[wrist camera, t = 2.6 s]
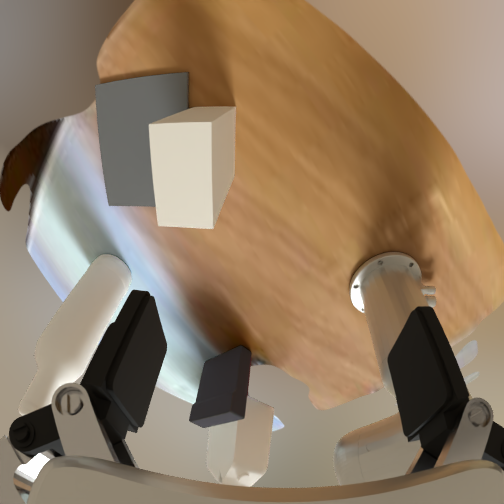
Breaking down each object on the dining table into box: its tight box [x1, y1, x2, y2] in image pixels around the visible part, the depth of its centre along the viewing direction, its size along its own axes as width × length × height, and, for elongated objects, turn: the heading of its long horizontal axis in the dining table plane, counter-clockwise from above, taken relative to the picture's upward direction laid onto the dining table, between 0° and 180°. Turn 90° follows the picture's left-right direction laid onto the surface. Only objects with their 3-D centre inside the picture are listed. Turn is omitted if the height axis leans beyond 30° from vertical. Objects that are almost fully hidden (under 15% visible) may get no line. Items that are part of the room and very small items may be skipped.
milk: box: [206, 396, 274, 487], centre depth 59 cm, size 12×12×26 cm
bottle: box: [18, 254, 132, 416], centre depth 34 cm, size 8×8×30 cm
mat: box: [95, 72, 188, 207], centre depth 34 cm, size 13×18×1 cm
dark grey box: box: [189, 345, 251, 428], centre depth 51 cm, size 11×4×15 cm, turn 131°
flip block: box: [149, 106, 236, 229], centre depth 28 cm, size 5×9×14 cm, turn 178°
